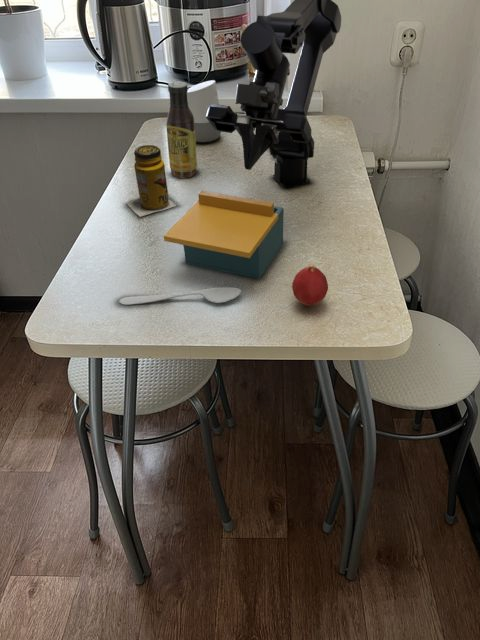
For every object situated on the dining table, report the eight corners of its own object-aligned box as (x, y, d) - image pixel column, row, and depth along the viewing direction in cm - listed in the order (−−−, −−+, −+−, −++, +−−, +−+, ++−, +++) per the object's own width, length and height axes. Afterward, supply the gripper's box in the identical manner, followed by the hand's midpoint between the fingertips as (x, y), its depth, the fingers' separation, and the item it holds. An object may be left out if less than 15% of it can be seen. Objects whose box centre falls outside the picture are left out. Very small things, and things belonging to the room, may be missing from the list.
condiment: (176, 206, 123) (169, 151, 115) (139, 217, 120) (130, 161, 112) (161, 193, 128) (153, 139, 120) (125, 203, 124) (115, 149, 116)
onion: (289, 295, 99) (290, 255, 93) (323, 293, 99) (326, 253, 94) (294, 316, 94) (295, 275, 89) (329, 314, 95) (332, 273, 89)
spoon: (241, 305, 97) (241, 297, 96) (117, 309, 96) (115, 301, 95) (241, 291, 100) (240, 283, 99) (121, 294, 100) (119, 286, 98)
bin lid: (199, 204, 107) (197, 189, 105) (278, 218, 103) (278, 203, 101) (164, 241, 98) (161, 225, 96) (249, 258, 94) (249, 242, 92)
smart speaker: (196, 129, 155) (191, 74, 145) (228, 134, 152) (225, 77, 143) (180, 143, 148) (173, 85, 139) (212, 147, 146) (208, 89, 136)
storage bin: (214, 230, 115) (211, 195, 110) (283, 243, 111) (283, 207, 106) (185, 263, 107) (181, 226, 101) (259, 278, 102) (258, 241, 97)
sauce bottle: (166, 176, 134) (154, 86, 120) (178, 166, 138) (168, 77, 125) (191, 181, 132) (182, 90, 119) (203, 170, 136) (195, 80, 123)
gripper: (205, 56, 100) (183, 143, 100) (309, 66, 95) (285, 157, 94) (226, 89, 111) (206, 168, 110) (320, 100, 105) (299, 182, 105)
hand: (247, 168), depth 105 cm, fingers closed
